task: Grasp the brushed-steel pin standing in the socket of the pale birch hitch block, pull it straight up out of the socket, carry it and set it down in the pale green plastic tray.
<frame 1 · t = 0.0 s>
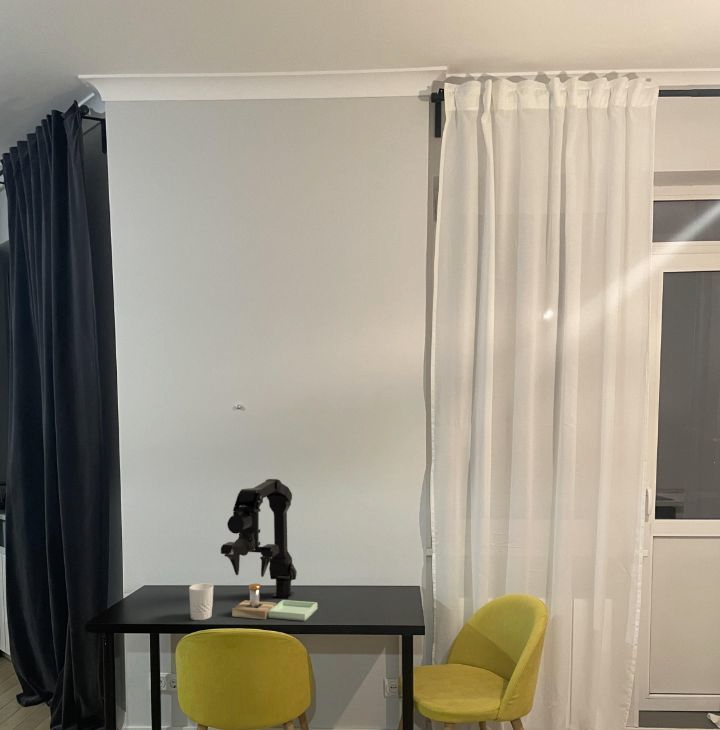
hand: (249, 575, 193), 15 cm above the table, fingers open, 9 cm apart
hitch block: (254, 613, 200), on the table
white cup: (201, 617, 197), on the table
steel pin: (254, 599, 200), in the hitch block
tray: (293, 613, 199), on the table
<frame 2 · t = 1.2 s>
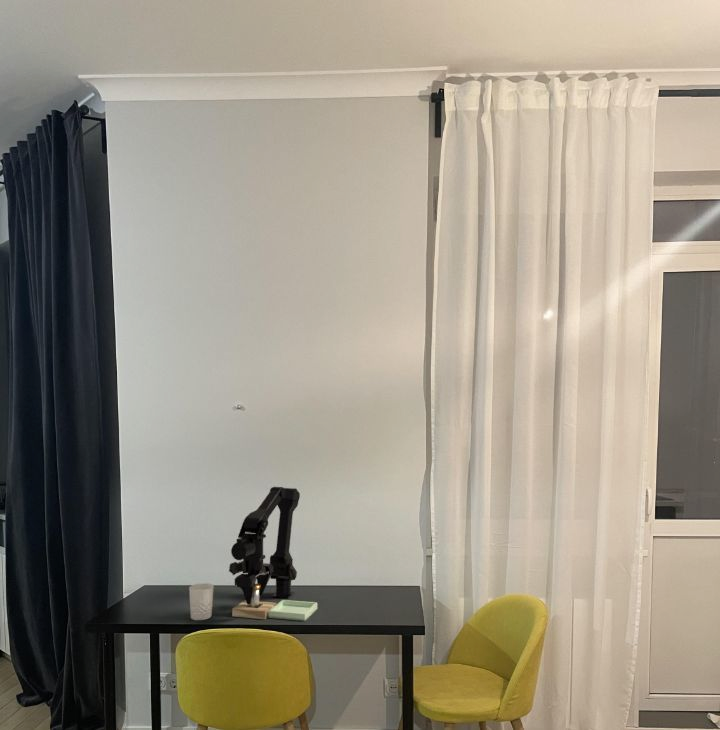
hand: (254, 599, 200), 4 cm above the table, fingers open, 9 cm apart
nothing on the table moved.
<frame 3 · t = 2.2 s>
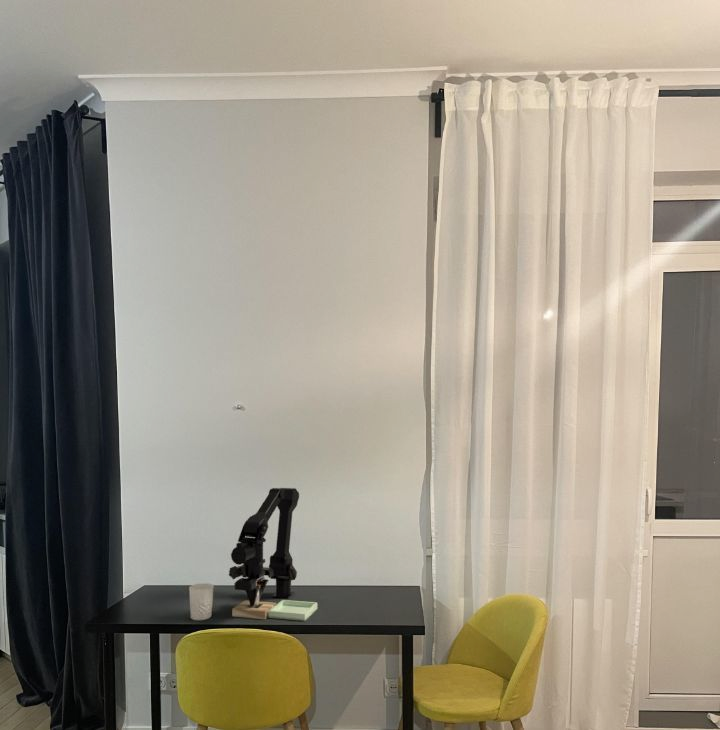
hand: (254, 604, 200), 3 cm above the table, fingers closed on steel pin, 3 cm apart
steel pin: (254, 599, 200), in the hitch block, touching gripper
everything else where it was.
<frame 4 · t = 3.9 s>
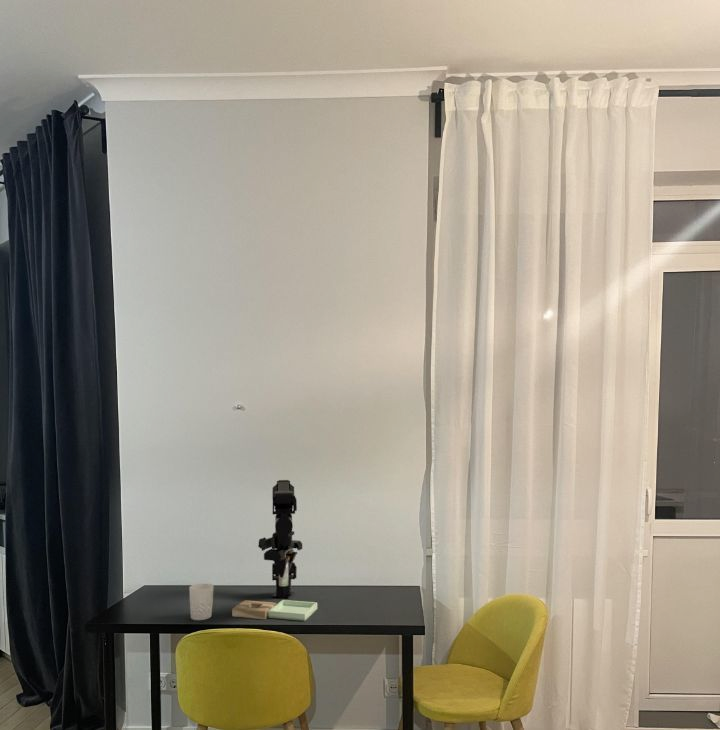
hand: (283, 575, 200), 13 cm above the table, fingers closed on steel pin, 3 cm apart
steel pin: (283, 570, 200), point 14 cm above the table, touching gripper
everything else where it was.
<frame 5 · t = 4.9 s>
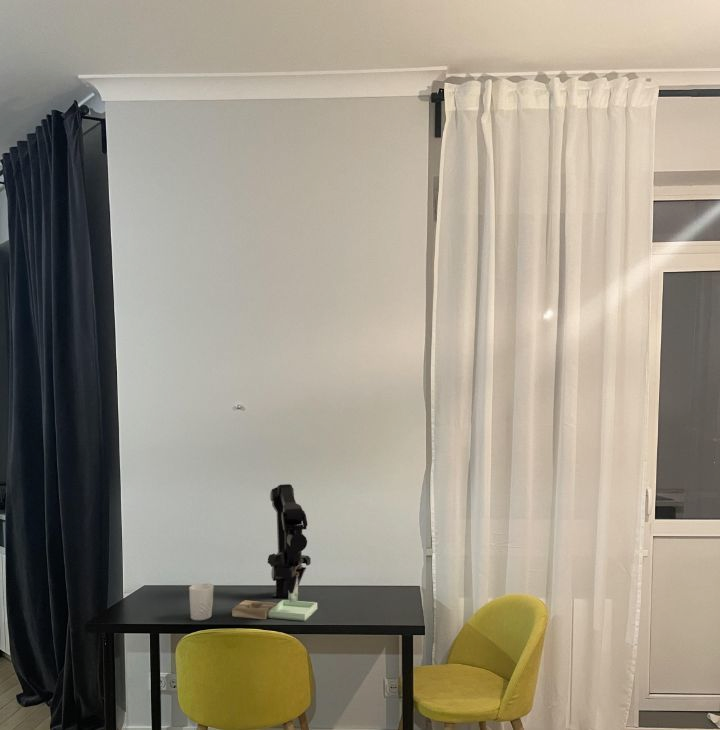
hand: (293, 591, 200), 7 cm above the table, fingers closed on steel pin, 3 cm apart
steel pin: (293, 586, 200), point 9 cm above the table, touching gripper
everything else where it was.
when the fingers open (5 cm above the table, at t = 5.5 s): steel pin drops 1 cm, resting on tray.
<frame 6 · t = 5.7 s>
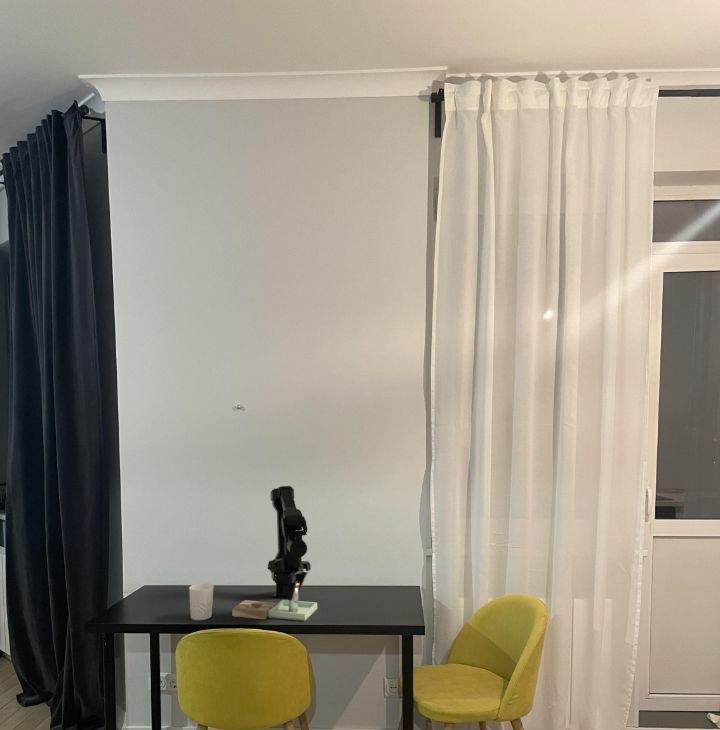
hand: (293, 597, 200), 5 cm above the table, fingers open, 6 cm apart
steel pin: (293, 597, 200), in the tray, point 5 cm above the table
everything else where it was.
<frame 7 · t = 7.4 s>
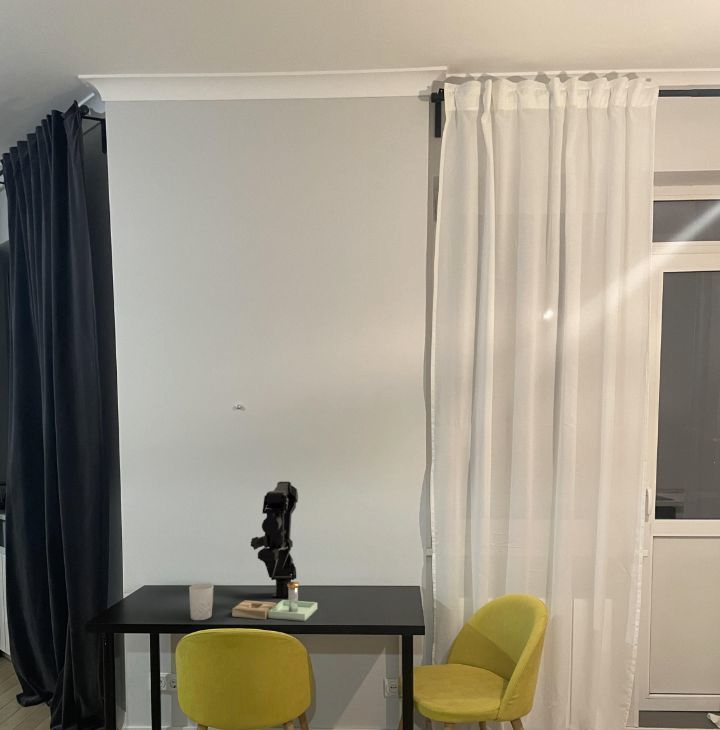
hand: (275, 573, 204), 12 cm above the table, fingers open, 9 cm apart
nothing on the table moved.
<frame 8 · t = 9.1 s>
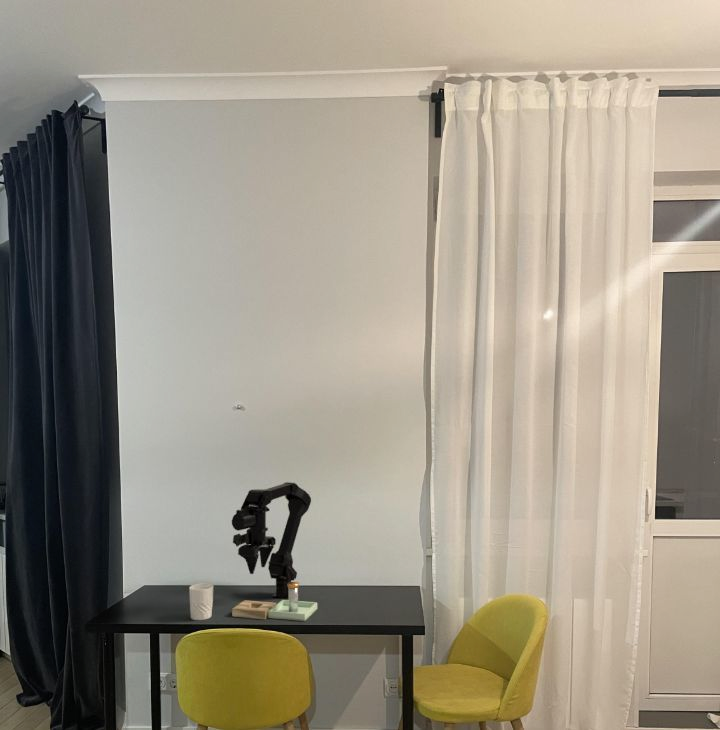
hand: (257, 570, 207), 13 cm above the table, fingers open, 9 cm apart
nothing on the table moved.
at the end: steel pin inside the target area on the tray (0.0 cm from its centre), point 5.2 cm above the tray's base; the gripper is holding nothing; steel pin touching tray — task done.
